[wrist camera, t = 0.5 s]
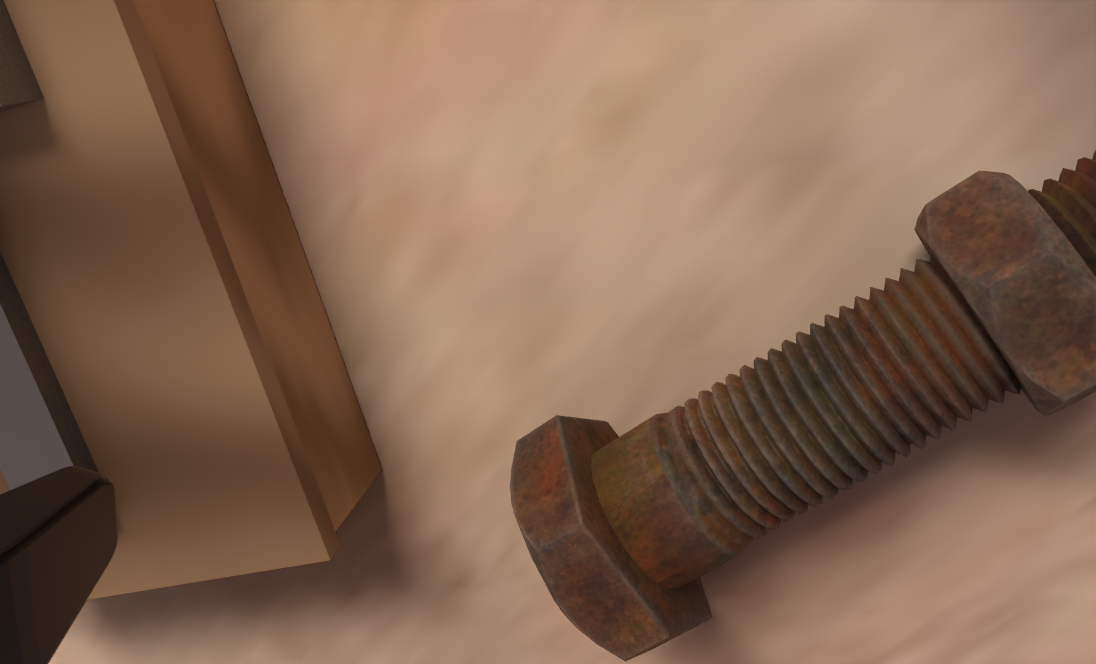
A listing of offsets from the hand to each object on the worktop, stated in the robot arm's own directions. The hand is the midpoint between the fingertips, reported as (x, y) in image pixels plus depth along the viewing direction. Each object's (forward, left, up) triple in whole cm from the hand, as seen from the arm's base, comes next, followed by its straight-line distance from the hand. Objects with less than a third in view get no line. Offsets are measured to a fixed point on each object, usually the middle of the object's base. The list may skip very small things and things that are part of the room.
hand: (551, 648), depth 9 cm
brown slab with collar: (-5, +14, -14) cm, 20 cm away
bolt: (0, -5, -14) cm, 15 cm away
